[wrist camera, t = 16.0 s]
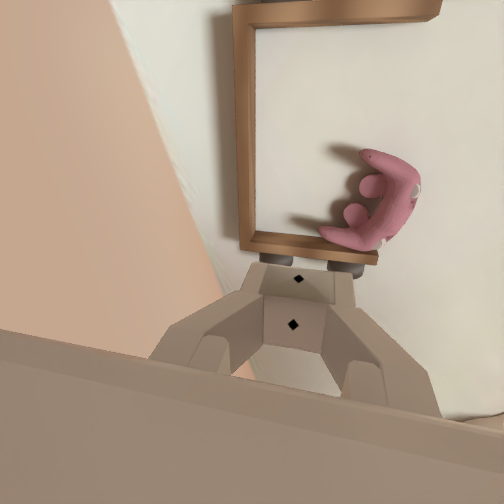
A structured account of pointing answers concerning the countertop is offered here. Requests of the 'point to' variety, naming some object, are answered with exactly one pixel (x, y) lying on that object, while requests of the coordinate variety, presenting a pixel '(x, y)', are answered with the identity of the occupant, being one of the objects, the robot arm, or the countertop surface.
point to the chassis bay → (244, 24)
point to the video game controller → (388, 212)
